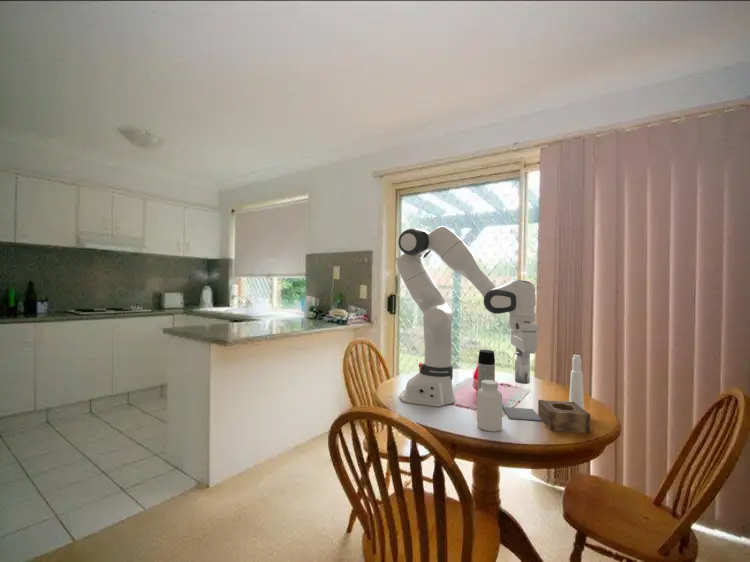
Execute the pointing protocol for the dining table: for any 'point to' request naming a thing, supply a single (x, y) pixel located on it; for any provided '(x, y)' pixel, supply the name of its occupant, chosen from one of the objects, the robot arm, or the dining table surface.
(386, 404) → the dining table surface
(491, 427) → the pill bottle
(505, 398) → the dining table surface
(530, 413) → the mat
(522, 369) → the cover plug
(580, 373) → the cosmetic bottle
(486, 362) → the spray can
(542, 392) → the dining table surface
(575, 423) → the socket block
